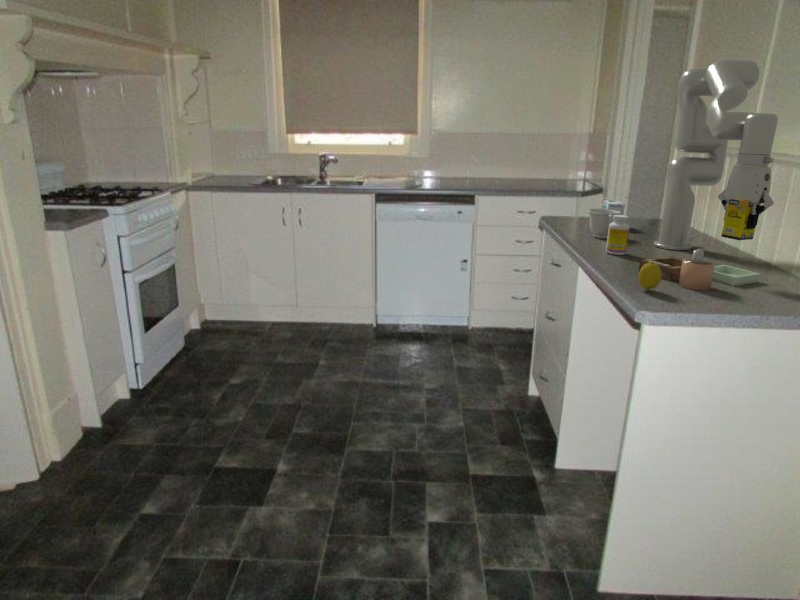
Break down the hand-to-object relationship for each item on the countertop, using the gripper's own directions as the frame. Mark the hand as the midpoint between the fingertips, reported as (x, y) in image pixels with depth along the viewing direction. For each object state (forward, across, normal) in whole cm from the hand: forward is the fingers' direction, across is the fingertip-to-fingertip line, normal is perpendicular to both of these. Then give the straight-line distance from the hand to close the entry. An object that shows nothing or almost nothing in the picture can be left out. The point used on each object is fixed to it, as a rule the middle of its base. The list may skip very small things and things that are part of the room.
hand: (739, 225), depth 161 cm
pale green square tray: (+16, 0, 0) cm, 16 cm away
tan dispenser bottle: (+16, -1, +16) cm, 22 cm away
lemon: (+16, +1, +32) cm, 36 cm away
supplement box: (+4, 0, 0) cm, 4 cm away
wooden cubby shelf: (+16, +11, +11) cm, 22 cm away
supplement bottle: (+16, +37, +6) cm, 41 cm away
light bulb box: (+16, +74, -30) cm, 81 cm away
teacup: (+16, +59, -10) cm, 62 cm away
